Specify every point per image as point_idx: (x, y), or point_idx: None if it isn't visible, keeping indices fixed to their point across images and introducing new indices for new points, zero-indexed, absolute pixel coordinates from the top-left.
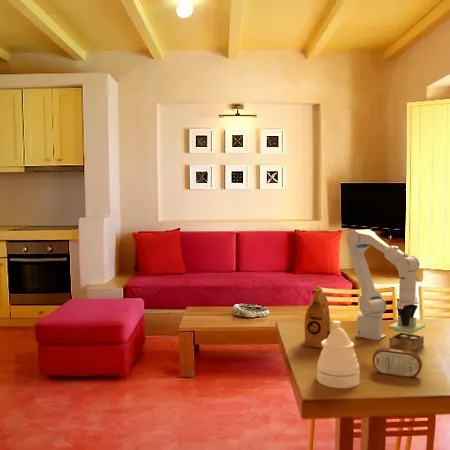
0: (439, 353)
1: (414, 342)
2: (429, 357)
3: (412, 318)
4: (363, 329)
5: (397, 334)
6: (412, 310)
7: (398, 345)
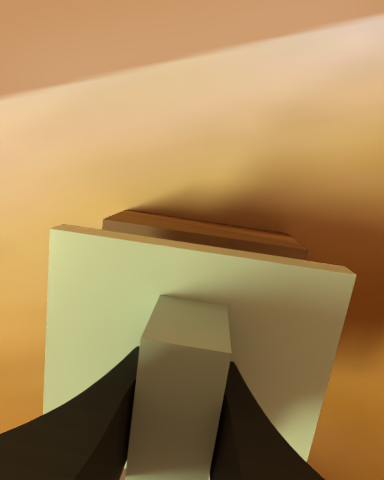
0: (217, 91)
1: (287, 245)
2: (336, 129)
3: (199, 373)
4: None
5: None
6: (94, 475)
7: None
